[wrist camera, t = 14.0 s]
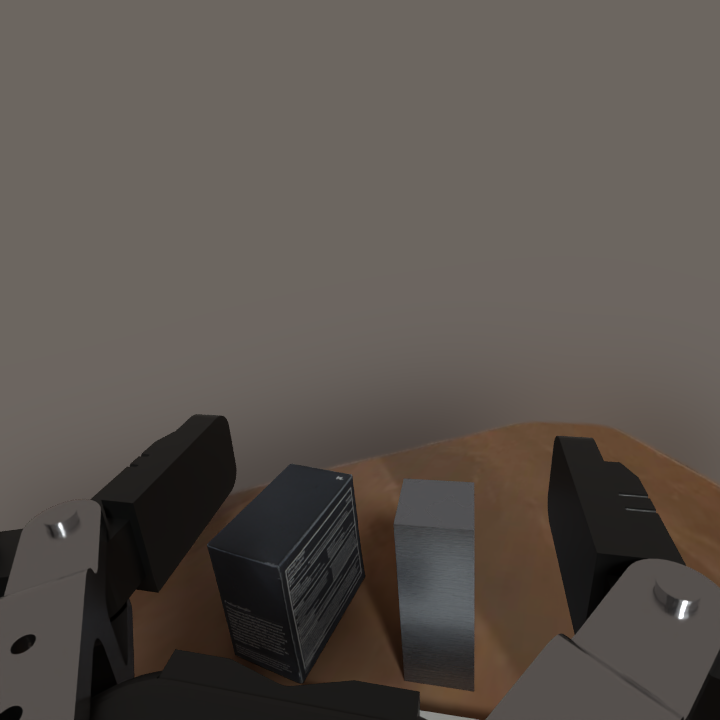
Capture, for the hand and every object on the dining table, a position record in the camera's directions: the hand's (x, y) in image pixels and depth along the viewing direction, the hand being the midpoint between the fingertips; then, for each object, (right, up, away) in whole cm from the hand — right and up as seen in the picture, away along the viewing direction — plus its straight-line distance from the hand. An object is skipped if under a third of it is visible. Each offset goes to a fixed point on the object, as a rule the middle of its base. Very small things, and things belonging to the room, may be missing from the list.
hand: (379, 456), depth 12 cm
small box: (-5, -18, +27) cm, 33 cm away
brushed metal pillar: (+5, -19, +22) cm, 30 cm away
